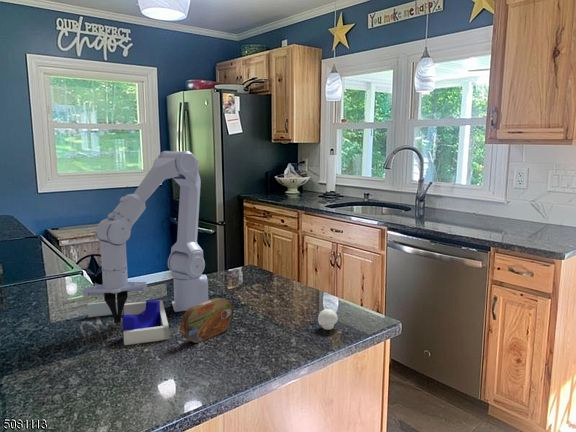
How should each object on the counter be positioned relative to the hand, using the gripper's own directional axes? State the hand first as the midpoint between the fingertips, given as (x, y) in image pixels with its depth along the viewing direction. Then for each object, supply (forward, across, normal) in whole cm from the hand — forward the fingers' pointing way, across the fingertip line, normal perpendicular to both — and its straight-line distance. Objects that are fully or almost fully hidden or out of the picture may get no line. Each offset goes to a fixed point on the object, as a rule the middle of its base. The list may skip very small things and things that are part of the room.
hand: (117, 321), depth 108 cm
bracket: (+2, +6, 0) cm, 7 cm away
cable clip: (+2, +5, -3) cm, 6 cm away
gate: (+2, -3, +11) cm, 12 cm away
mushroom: (+2, +50, -17) cm, 52 cm away
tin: (+2, +20, -11) cm, 23 cm away
